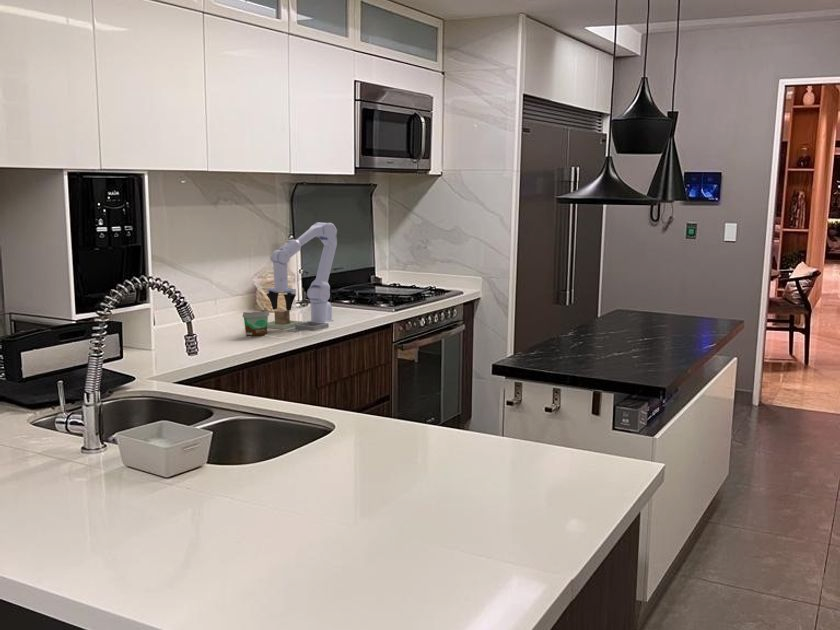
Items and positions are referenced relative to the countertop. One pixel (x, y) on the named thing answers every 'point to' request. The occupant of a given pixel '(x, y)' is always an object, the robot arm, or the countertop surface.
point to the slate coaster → (294, 330)
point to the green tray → (292, 324)
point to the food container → (256, 323)
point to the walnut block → (282, 317)
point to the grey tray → (312, 326)
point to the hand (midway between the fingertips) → (281, 309)
